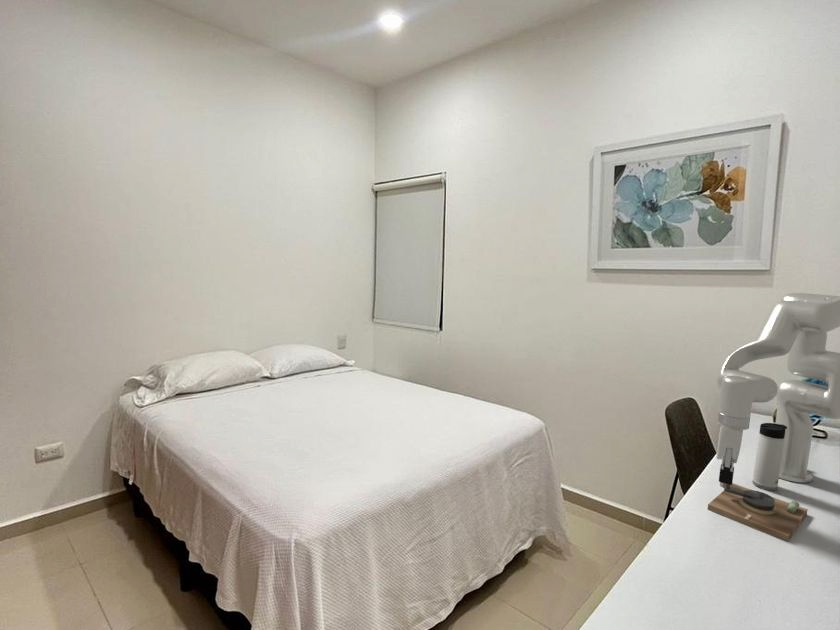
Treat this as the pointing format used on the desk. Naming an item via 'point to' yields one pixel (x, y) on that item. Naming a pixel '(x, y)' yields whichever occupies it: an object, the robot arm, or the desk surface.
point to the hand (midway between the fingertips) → (725, 480)
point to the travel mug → (769, 456)
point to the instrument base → (760, 514)
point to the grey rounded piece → (752, 497)
